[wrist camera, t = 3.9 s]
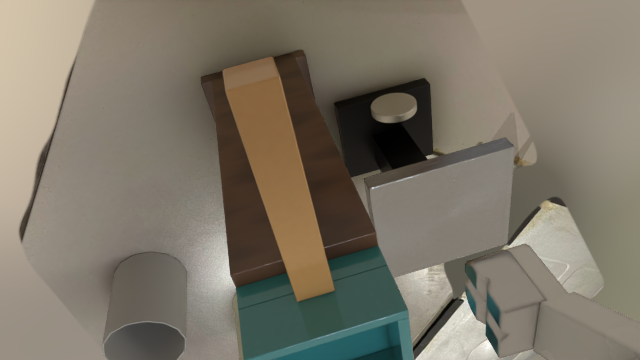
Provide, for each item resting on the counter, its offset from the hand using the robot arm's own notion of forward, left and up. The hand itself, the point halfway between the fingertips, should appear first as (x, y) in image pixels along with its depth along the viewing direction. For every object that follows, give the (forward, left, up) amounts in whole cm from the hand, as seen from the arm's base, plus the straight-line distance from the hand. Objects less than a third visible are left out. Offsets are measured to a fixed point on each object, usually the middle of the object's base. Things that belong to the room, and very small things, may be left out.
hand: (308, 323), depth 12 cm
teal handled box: (0, +8, -11) cm, 13 cm away
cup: (+19, +32, -37) cm, 52 cm away
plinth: (0, +13, -37) cm, 39 cm away
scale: (-12, +20, -37) cm, 43 cm away
